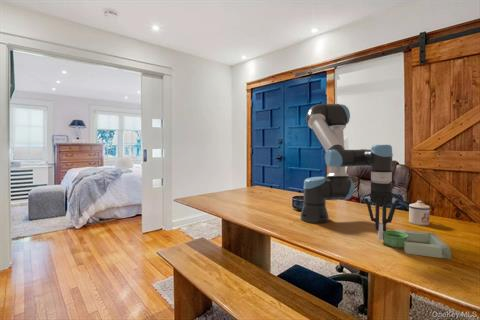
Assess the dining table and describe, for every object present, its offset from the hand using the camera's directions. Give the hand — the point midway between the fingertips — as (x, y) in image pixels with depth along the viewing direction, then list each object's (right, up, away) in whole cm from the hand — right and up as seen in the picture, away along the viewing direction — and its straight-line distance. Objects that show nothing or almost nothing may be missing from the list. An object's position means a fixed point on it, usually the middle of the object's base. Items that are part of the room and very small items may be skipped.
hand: (380, 238), depth 104 cm
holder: (+13, -2, -5) cm, 14 cm away
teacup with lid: (+36, 0, +27) cm, 45 cm away
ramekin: (+5, -2, -2) cm, 5 cm away
